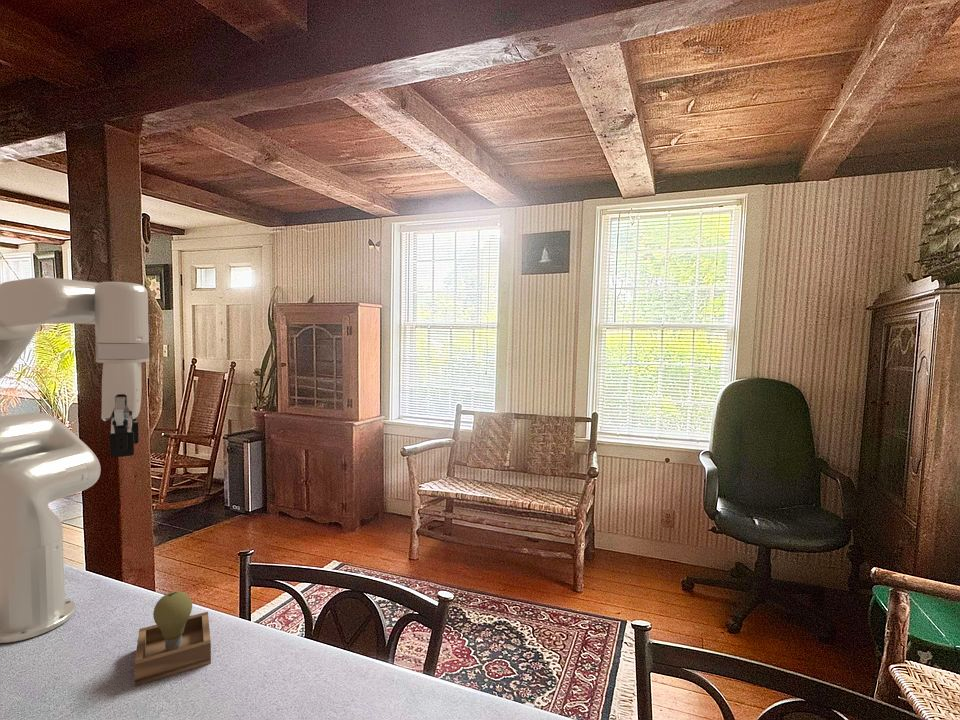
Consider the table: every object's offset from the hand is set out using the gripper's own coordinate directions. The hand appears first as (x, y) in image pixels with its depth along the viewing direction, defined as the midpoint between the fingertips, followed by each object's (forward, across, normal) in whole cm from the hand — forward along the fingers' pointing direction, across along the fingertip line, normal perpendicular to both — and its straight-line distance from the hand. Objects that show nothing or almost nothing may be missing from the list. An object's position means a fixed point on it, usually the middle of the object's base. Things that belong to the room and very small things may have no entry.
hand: (125, 449), depth 85 cm
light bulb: (+34, +10, +7) cm, 36 cm away
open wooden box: (+34, +10, +7) cm, 36 cm away
